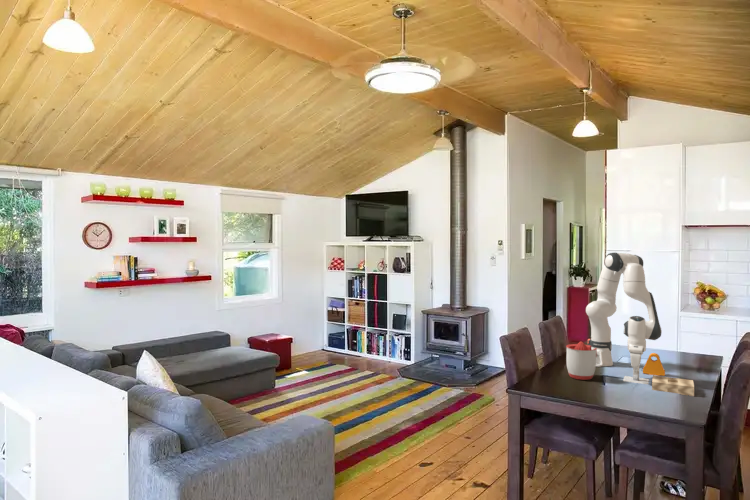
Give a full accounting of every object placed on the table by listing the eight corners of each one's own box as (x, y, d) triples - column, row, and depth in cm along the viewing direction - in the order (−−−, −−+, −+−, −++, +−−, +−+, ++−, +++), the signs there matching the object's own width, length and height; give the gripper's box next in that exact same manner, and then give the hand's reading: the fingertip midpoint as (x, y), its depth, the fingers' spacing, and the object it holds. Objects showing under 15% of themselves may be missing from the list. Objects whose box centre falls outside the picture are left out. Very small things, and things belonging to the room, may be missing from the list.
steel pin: (632, 380, 275) (632, 363, 274) (633, 378, 277) (633, 362, 277) (639, 381, 273) (639, 364, 273) (639, 379, 276) (639, 363, 275)
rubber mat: (622, 381, 273) (622, 381, 273) (624, 376, 283) (624, 375, 283) (648, 385, 267) (648, 384, 267) (649, 379, 277) (649, 378, 277)
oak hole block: (652, 390, 257) (652, 381, 257) (652, 383, 269) (652, 375, 269) (694, 396, 248) (694, 387, 248) (692, 389, 260) (693, 380, 260)
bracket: (665, 374, 289) (665, 353, 288) (664, 377, 283) (665, 355, 282) (643, 371, 294) (643, 351, 294) (642, 374, 288) (643, 353, 288)
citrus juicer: (604, 381, 274) (605, 344, 274) (573, 381, 273) (574, 344, 272) (590, 373, 290) (591, 338, 289) (560, 373, 288) (561, 338, 288)
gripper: (631, 342, 285) (630, 367, 286) (628, 349, 268) (628, 375, 268) (644, 344, 282) (643, 368, 283) (642, 351, 264) (641, 377, 265)
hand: (636, 372), depth 275 cm, fingers open, 8 cm apart
